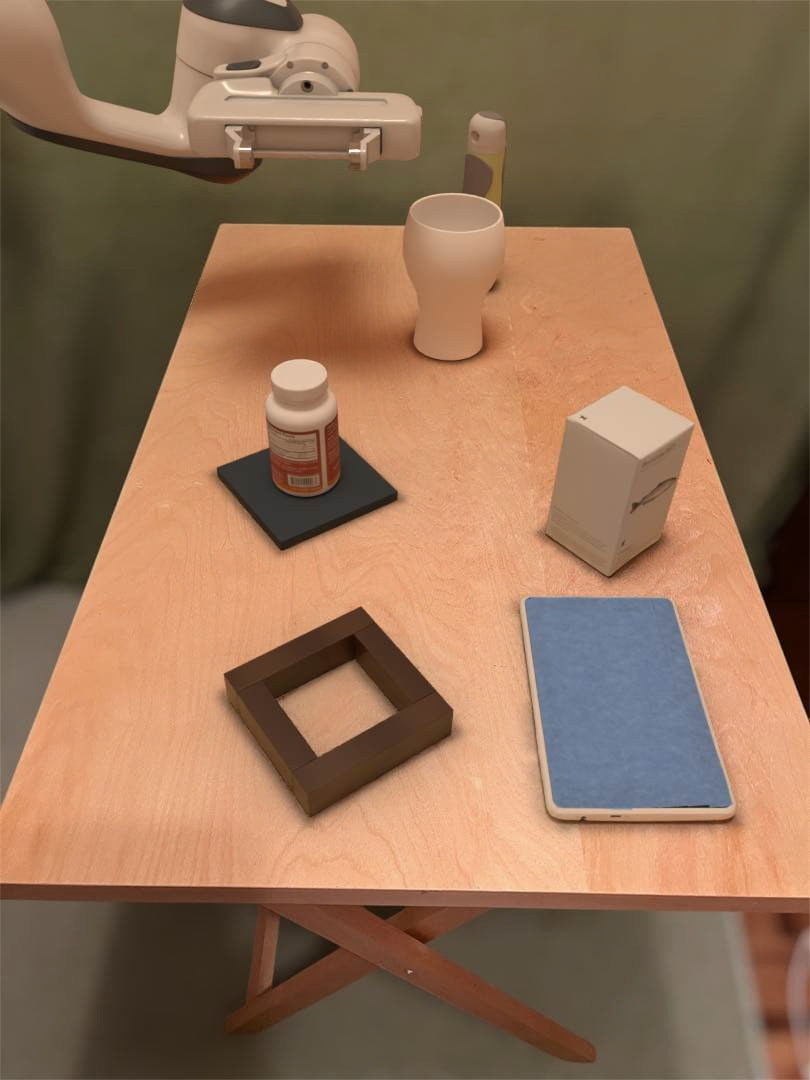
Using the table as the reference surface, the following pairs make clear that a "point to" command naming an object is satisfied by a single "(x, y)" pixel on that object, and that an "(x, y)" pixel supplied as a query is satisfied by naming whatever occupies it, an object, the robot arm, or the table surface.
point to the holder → (363, 754)
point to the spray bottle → (486, 157)
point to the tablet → (620, 712)
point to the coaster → (305, 515)
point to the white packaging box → (616, 477)
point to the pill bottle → (302, 429)
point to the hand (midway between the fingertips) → (300, 160)
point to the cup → (452, 269)
